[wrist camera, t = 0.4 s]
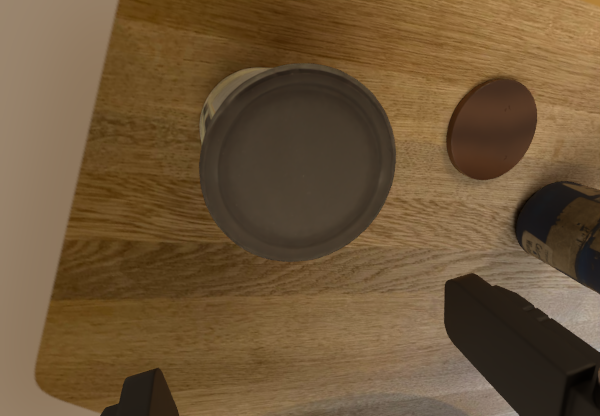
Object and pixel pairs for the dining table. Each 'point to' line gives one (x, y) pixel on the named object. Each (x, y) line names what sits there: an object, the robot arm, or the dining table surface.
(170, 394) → the robot arm
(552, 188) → the canister
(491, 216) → the dining table surface
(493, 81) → the dark brown wooden coaster
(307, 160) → the coffee can
